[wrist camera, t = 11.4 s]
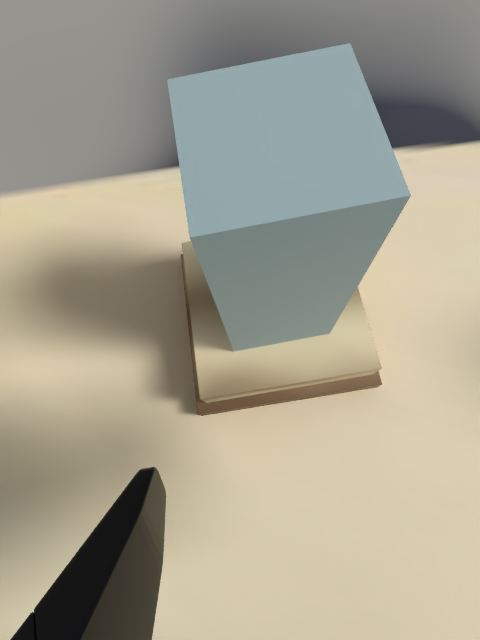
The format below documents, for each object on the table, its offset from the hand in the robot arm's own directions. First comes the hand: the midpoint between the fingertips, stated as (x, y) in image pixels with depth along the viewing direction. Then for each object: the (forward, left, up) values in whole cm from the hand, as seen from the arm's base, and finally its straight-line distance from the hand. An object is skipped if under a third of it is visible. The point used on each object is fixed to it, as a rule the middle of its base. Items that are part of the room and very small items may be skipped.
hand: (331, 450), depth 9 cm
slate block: (+6, +6, -10) cm, 13 cm away
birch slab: (+6, +6, -12) cm, 14 cm away
